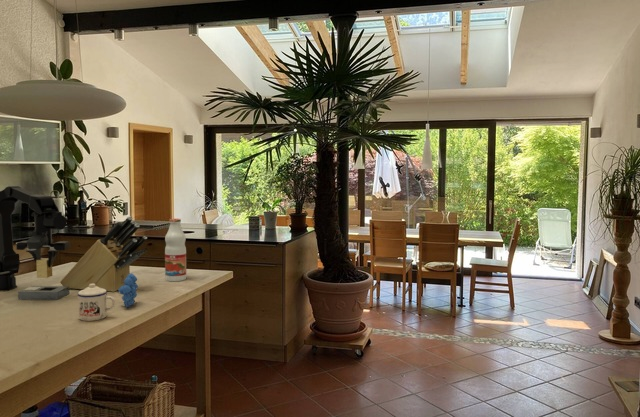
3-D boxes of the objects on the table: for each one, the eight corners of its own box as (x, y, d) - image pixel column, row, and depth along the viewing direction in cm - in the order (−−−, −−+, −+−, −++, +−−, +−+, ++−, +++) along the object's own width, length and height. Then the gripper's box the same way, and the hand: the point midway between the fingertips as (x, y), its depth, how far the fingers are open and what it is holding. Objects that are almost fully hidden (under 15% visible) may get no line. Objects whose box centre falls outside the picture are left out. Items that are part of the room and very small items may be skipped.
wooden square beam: (36, 277, 199) (36, 260, 199) (42, 275, 203) (41, 258, 203) (47, 277, 199) (46, 260, 199) (52, 275, 203) (51, 258, 203)
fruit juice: (189, 277, 239) (189, 218, 236) (181, 282, 229) (180, 220, 227) (170, 276, 240) (169, 217, 238) (161, 281, 231) (160, 219, 228)
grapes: (123, 301, 195) (123, 270, 194) (141, 301, 196) (141, 270, 195) (113, 310, 184) (112, 277, 183) (132, 309, 184) (131, 277, 183)
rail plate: (18, 299, 197) (18, 291, 197) (32, 293, 207) (32, 285, 207) (57, 299, 197) (57, 291, 197) (69, 293, 207) (69, 285, 207)
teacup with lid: (74, 321, 170) (73, 287, 169) (84, 313, 179) (83, 281, 178) (111, 321, 171) (110, 286, 170) (119, 313, 180) (118, 280, 179)
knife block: (135, 294, 207) (133, 218, 205) (59, 289, 214) (57, 216, 212) (149, 287, 218) (148, 215, 216) (77, 283, 225) (75, 213, 223)
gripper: (7, 230, 192) (8, 271, 193) (57, 230, 192) (58, 271, 193) (23, 226, 203) (24, 265, 204) (70, 227, 203) (71, 265, 204)
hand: (44, 267), depth 201 cm, fingers closed on wooden square beam, 4 cm apart
